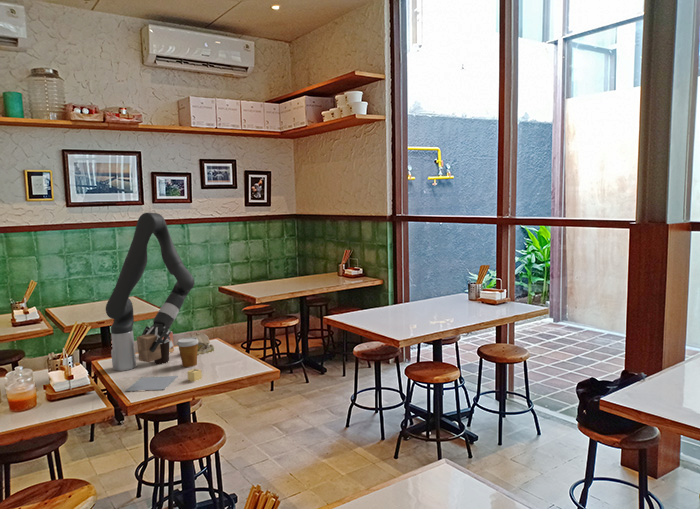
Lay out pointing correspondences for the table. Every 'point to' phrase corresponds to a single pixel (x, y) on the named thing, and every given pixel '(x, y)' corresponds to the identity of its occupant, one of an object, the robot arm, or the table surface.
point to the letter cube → (194, 374)
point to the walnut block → (147, 348)
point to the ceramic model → (203, 344)
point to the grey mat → (152, 383)
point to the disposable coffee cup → (188, 351)
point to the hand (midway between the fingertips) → (146, 350)
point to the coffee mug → (164, 352)
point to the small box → (171, 344)
